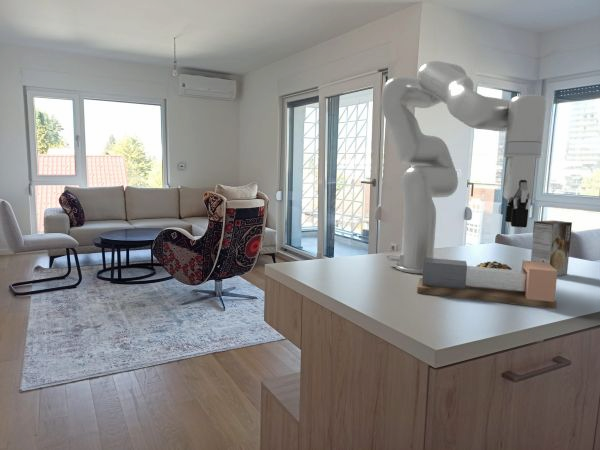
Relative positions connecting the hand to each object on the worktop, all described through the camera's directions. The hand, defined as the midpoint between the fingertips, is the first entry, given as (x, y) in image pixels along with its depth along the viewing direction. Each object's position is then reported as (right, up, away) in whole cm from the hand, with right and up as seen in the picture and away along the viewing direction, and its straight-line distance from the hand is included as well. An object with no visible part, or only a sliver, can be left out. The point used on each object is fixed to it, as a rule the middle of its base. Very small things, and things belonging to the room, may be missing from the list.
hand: (515, 224), depth 100 cm
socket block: (+5, -17, 0) cm, 17 cm away
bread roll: (+7, -15, +26) cm, 31 cm away
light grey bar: (-3, -15, +3) cm, 16 cm away
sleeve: (-15, -15, +7) cm, 22 cm away
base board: (-6, -17, +4) cm, 19 cm away
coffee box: (+25, -15, +29) cm, 41 cm away
